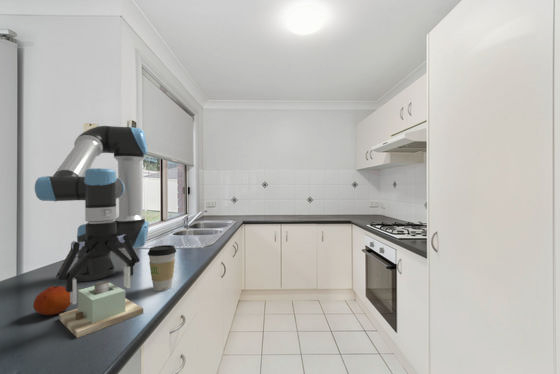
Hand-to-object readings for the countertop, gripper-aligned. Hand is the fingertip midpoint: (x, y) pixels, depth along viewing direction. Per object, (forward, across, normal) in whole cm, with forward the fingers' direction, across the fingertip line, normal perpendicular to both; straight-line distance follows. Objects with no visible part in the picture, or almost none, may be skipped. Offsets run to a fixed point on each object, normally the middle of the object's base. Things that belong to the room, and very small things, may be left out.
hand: (102, 294), depth 76 cm
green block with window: (+5, 0, 0) cm, 5 cm away
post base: (+6, 0, 0) cm, 6 cm away
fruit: (+6, -8, +14) cm, 18 cm away
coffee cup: (+7, +22, +7) cm, 24 cm away
